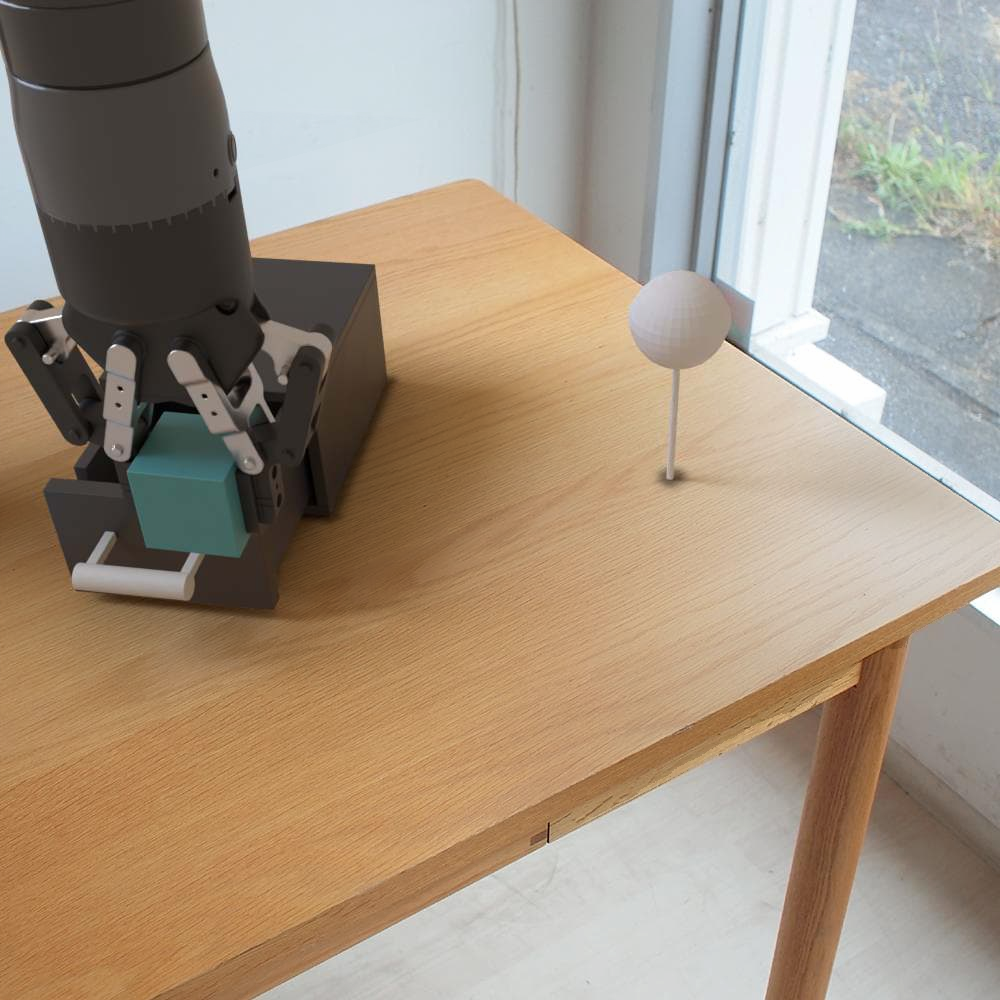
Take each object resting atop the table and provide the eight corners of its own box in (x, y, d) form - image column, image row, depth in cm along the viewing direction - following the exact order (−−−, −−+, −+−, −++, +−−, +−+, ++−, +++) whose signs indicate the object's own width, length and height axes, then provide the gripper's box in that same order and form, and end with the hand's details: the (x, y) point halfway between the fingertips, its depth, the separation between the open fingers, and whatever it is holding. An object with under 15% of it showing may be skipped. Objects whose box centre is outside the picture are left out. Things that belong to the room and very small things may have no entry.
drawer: (251, 664, 74) (228, 561, 69) (44, 642, 76) (7, 540, 71) (339, 459, 88) (325, 361, 83) (163, 445, 90) (139, 348, 85)
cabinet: (330, 516, 85) (311, 394, 79) (131, 499, 87) (97, 378, 81) (387, 379, 97) (375, 263, 90) (211, 367, 99) (187, 253, 93)
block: (145, 548, 59) (125, 471, 56) (181, 486, 62) (164, 410, 59) (240, 558, 58) (224, 481, 55) (270, 495, 62) (257, 419, 59)
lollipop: (613, 497, 85) (618, 295, 76) (633, 444, 90) (640, 246, 80) (708, 513, 84) (726, 309, 74) (724, 458, 88) (743, 258, 78)
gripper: (-95, 204, 47) (26, 555, 58) (287, 231, 45) (338, 590, 56) (2, 116, 53) (95, 452, 64) (345, 136, 51) (381, 480, 62)
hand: (209, 515), depth 60 cm, fingers closed on block, 4 cm apart
